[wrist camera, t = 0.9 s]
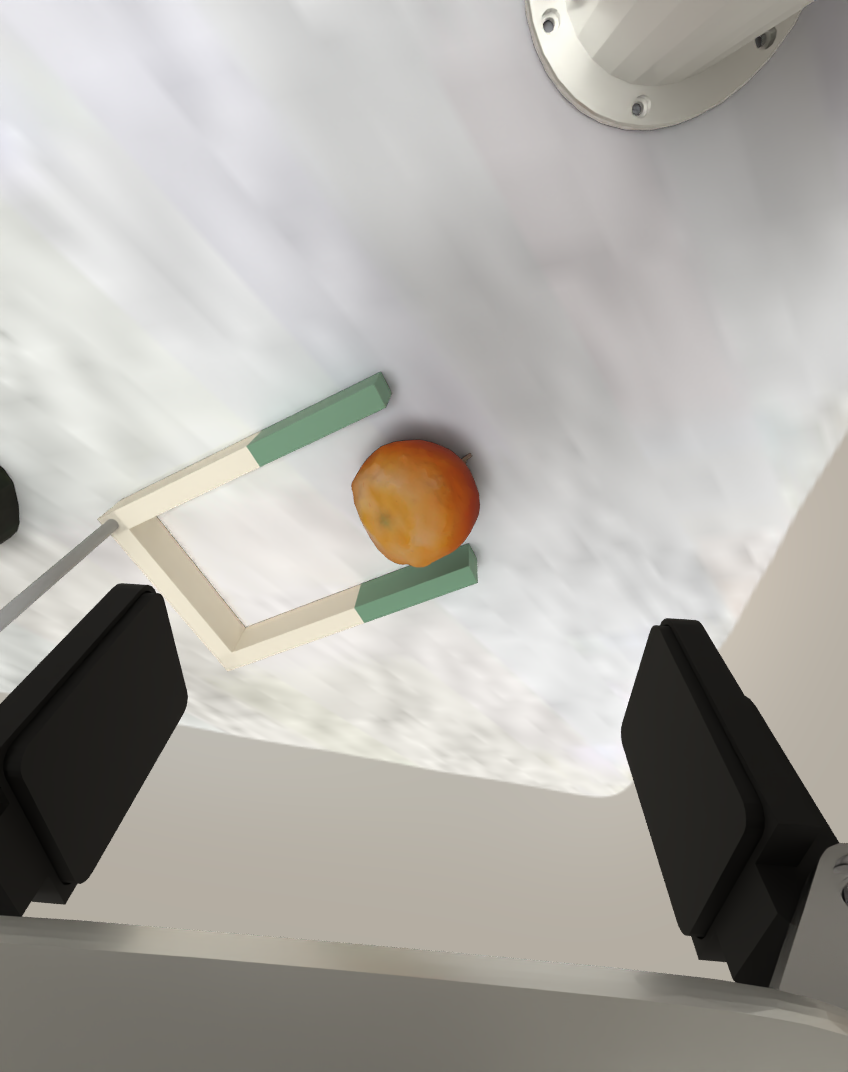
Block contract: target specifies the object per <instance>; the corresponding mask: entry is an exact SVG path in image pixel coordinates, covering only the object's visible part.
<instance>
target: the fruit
mask: <svg viewBox="0 0 848 1072" xmlns="http://www.w3.org/2000/svg"><path fill="white" fill-rule="evenodd" d="M471 456H472V455H471V453H469V454H468V455H466V456H465V457H463V458H462V459H460V458H459V457H458V456H457V455H456V454H455V453H454V452H453V451H451V450H449V449H447V448H445V447H443V446H440V445H438V444H436V443H432V442H428V441H423V440H406V441H397V442H393V443H389V444H386V445H384V446H381V447H380V448H379V449H377V450H376V451H375V452H374V453H372V454H371V455H370V456H369V457H368V459H367V460H366V461H365V462H364V463H363V465H362V467H361V468H360V470H359V471H358V473H357V475H356V477H355V478H354V480H353V482H352V486H351V487H352V491H353V496H354V504H355V506H356V509H357V511H358V514H359V517H360V519H361V522H362V524H363V526H364V528H365V529H366V531H367V533H368V535H369V537H370V538H371V540H372V541H373V543H374V544H375V546H376V547H377V549H378V550H379V551H380V552H381V553H382V554H383V555H384V556H385V557H386V558H388V559H389V560H391V561H393V562H394V563H397V564H402V565H403V564H409V565H411V566H413V567H425V566H428V565H430V564H431V563H432V562H435V561H437V560H439V559H440V558H442V557H444V556H446V555H448V554H450V553H452V552H454V551H455V550H456V549H457V548H458V547H459V546H460V545H461V544H462V543H463V542H464V541H465V540H466V538H467V537H468V535H469V534H470V532H471V530H472V528H473V526H474V524H475V522H476V520H477V517H478V515H479V509H480V502H479V493H478V490H477V487H476V484H475V481H474V478H473V476H472V474H471V472H470V470H469V468H468V467H467V465H466V461H467V460H468V459H469V458H470V457H471Z"/></svg>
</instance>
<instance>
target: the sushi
mask: <svg viewBox="0 0 848 1072" xmlns="http://www.w3.org/2000/svg"><path fill="white" fill-rule="evenodd" d="M18 525H19V511H18V502H17V498H16V494H15V491H14V487H13V483H12V481H11V480H10V479H9V477H8V476H7V474H6V473H5V471H4V470H3V469H2V468H1V467H0V544H2V543H3V542H4V541H6V540H7V539H9V538H10V537H11V536H12V535H13V534H14V533H15V532H16V531H17V529H18Z"/></svg>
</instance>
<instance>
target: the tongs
mask: <svg viewBox="0 0 848 1072" xmlns="http://www.w3.org/2000/svg"><path fill="white" fill-rule="evenodd" d="M391 395H392V393H391V391H390V389H389V387H388V385H387V383H386V381H385V379H384V377H383V375H382V373H381V372H379V373H377V374H375V375H373V376H371V377H369V378H367V379H365V380H363V381H361V382H359V383H357V384H355V385H353V386H351V387H349V388H347V389H345V390H343V391H341V392H339V393H337V394H334V395H332V396H330V397H328V398H326V399H324V400H322V401H320V402H318V403H316V404H314V405H312V406H310V407H308V408H306V409H304V410H302V411H300V412H298V413H296V414H294V415H292V416H290V417H288V418H286V419H284V420H282V421H280V422H278V423H276V424H274V425H272V426H270V427H268V428H266V429H264V430H262V431H260V432H258V433H255V434H253V435H251V436H249V437H247V438H245V439H243V440H241V441H239V442H237V443H235V444H233V445H231V446H229V447H227V448H225V449H223V450H221V451H219V452H217V453H215V454H213V455H211V456H209V457H207V458H205V459H203V460H201V461H199V462H197V463H195V464H193V465H191V466H189V467H187V468H185V469H183V470H181V471H179V472H176V473H174V474H172V475H170V476H168V477H166V478H164V479H162V480H160V481H158V482H156V483H154V484H152V485H150V486H148V487H146V488H144V489H142V490H140V491H138V492H136V493H134V494H132V495H130V496H128V497H126V498H124V499H122V500H120V501H119V502H118V503H117V504H115V505H114V506H113V507H112V508H110V509H109V510H108V511H107V512H106V513H104V514H103V515H102V516H101V517H99V518H98V519H97V520H98V521H99V522H100V523H101V524H102V525H101V526H100V527H99V528H98V529H97V530H96V531H94V532H93V533H92V534H91V535H90V536H88V537H87V538H86V539H85V540H84V541H82V542H81V543H80V544H79V545H78V546H76V547H75V548H74V549H73V550H72V551H70V552H69V553H68V554H67V555H66V556H64V557H63V558H62V559H61V560H60V561H58V562H57V563H56V564H55V565H54V566H52V567H51V568H50V569H49V570H48V571H46V572H45V573H44V574H43V575H42V576H40V577H39V578H38V579H37V580H36V581H34V582H33V583H32V584H31V585H30V586H28V587H27V588H26V589H25V590H24V591H22V592H21V593H20V594H19V595H18V596H17V597H15V598H14V599H13V600H12V601H11V602H9V603H8V604H7V605H6V606H5V607H3V608H2V609H1V610H0V632H1V631H2V630H3V629H4V628H5V627H6V626H8V625H9V624H10V623H11V622H12V621H13V620H14V619H16V618H17V617H18V616H19V615H20V614H21V613H22V612H23V611H25V610H26V609H27V608H28V607H29V606H30V605H31V604H33V603H34V602H35V601H36V600H37V599H38V598H39V597H40V596H42V595H43V594H44V593H45V592H46V591H47V590H48V589H50V588H51V587H52V586H53V585H54V584H55V583H56V582H57V581H59V580H60V579H61V578H62V577H63V576H64V575H65V574H67V573H68V572H69V571H70V570H71V569H72V568H73V567H74V566H76V565H77V564H78V563H79V562H80V561H81V560H82V559H84V558H85V557H86V556H87V555H88V554H89V553H90V552H91V551H93V550H94V549H95V548H96V547H97V546H98V545H99V544H101V543H102V542H103V541H104V540H105V539H106V538H107V537H108V536H110V535H111V536H112V537H113V538H114V539H115V541H116V542H117V543H118V544H119V545H120V546H121V548H122V549H123V550H124V551H125V552H126V553H127V555H128V556H129V557H130V558H131V559H132V560H133V562H134V563H135V564H136V565H137V566H138V567H139V569H140V570H141V571H142V572H143V573H144V574H145V576H146V577H147V578H148V579H149V580H150V581H151V583H152V584H153V585H154V586H155V587H156V588H157V590H158V591H159V592H160V593H161V594H162V595H163V597H164V598H165V599H166V600H167V601H168V602H169V604H170V605H171V606H172V607H173V608H174V609H175V611H176V612H177V613H178V614H179V615H180V616H181V618H182V619H183V620H184V621H185V622H186V623H187V625H188V626H189V627H190V628H191V629H192V630H193V632H194V633H195V634H196V635H197V636H198V637H199V639H200V640H201V641H202V642H203V643H204V644H205V645H206V647H207V648H208V649H209V650H210V651H211V652H212V654H213V655H214V656H215V657H216V658H217V659H218V661H219V662H220V663H221V664H222V665H223V666H224V668H225V669H226V670H227V671H230V670H233V669H236V668H239V667H242V666H245V665H247V664H250V663H253V662H256V661H259V660H261V659H264V658H267V657H270V656H273V655H276V654H278V653H281V652H284V651H287V650H290V649H293V648H295V647H298V646H301V645H304V644H307V643H309V642H312V641H315V640H318V639H321V638H324V637H326V636H329V635H332V634H335V633H338V632H340V631H343V630H346V629H349V628H352V627H355V626H357V625H360V624H363V623H366V622H369V621H371V620H374V619H377V618H380V617H383V616H386V615H388V614H391V613H394V612H397V611H400V610H402V609H405V608H408V607H411V606H414V605H417V604H419V603H422V602H425V601H428V600H431V599H433V598H436V597H439V596H442V595H445V594H448V593H450V592H453V591H456V590H459V589H462V588H465V587H467V586H470V585H473V584H476V583H478V577H477V559H476V557H475V555H474V553H473V551H472V549H471V547H470V545H469V543H468V544H466V545H463V546H460V547H458V548H457V549H456V550H455V551H454V552H452V553H450V554H448V555H446V556H444V557H442V558H440V559H439V560H437V561H435V562H432V563H431V564H430V565H428V566H425V567H413V566H411V565H410V566H408V567H405V568H402V569H400V570H397V571H394V572H392V573H389V574H386V575H384V576H381V577H378V578H376V579H373V580H370V581H368V582H365V583H363V584H360V585H357V586H355V587H352V588H349V589H347V590H344V591H341V592H339V593H336V594H333V595H331V596H328V597H325V598H323V599H320V600H317V601H315V602H312V603H310V604H307V605H304V606H302V607H299V608H296V609H294V610H291V611H288V612H286V613H283V614H280V615H278V616H275V617H272V618H270V619H267V620H265V621H262V622H259V623H257V624H254V625H251V626H249V627H246V628H245V627H244V625H243V624H242V623H241V622H240V620H239V619H238V618H237V617H236V615H235V614H234V613H233V612H232V610H231V609H230V608H229V607H228V605H227V604H226V603H225V602H224V600H223V599H222V598H221V597H220V595H219V594H218V593H217V592H216V590H215V589H214V588H213V587H212V585H211V584H210V583H209V582H208V580H207V579H206V578H205V577H204V575H203V574H202V573H201V572H200V570H199V569H198V568H197V567H196V565H195V564H194V563H193V562H192V560H191V559H190V558H189V557H188V555H187V554H186V553H185V552H184V550H183V549H182V548H181V547H180V545H179V544H178V543H177V542H176V540H175V539H174V538H173V537H172V535H171V534H170V533H169V532H168V530H167V529H166V528H165V527H164V525H163V524H162V523H161V522H160V520H159V519H158V518H157V517H156V516H157V515H159V514H162V513H164V512H166V511H168V510H170V509H172V508H174V507H176V506H179V505H181V504H183V503H185V502H187V501H189V500H191V499H193V498H195V497H198V496H200V495H202V494H204V493H206V492H208V491H210V490H212V489H215V488H217V487H219V486H221V485H223V484H225V483H227V482H229V481H232V480H234V479H236V478H238V477H240V476H242V475H244V474H246V473H248V472H251V471H253V470H255V469H257V468H259V467H261V466H263V465H265V464H268V463H270V462H272V461H274V460H276V459H278V458H280V457H282V456H284V455H287V454H289V453H291V452H293V451H295V450H297V449H299V448H301V447H304V446H306V445H308V444H310V443H312V442H314V441H316V440H318V439H320V438H323V437H325V436H327V435H329V434H331V433H333V432H335V431H337V430H340V429H342V428H344V427H346V426H348V425H350V424H352V423H354V422H357V421H359V420H361V419H363V418H365V417H367V416H369V415H371V414H373V413H376V412H378V411H380V410H382V409H384V408H386V406H387V404H388V402H389V399H390V397H391Z"/></svg>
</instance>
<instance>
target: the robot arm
mask: <svg viewBox="0 0 848 1072" xmlns="http://www.w3.org/2000/svg"><path fill="white" fill-rule="evenodd" d="M524 1H525V11H526V17H527V21H528V25H529V28H530V32H531V36H532V40H533V44H534V47H535V49H536V51H537V53H538V56H539V58H540V60H541V62H542V65H543V67H544V69H545V71H546V73H547V75H548V76H549V77H550V79H551V80H552V82H553V83H554V84H555V86H556V87H557V89H558V90H559V91H560V93H561V94H562V95H563V96H564V97H565V98H566V99H567V100H568V101H569V102H570V103H571V104H573V105H574V106H575V107H576V108H577V109H578V110H579V111H580V112H582V113H584V114H585V115H587V116H589V117H591V118H593V119H595V120H596V121H598V122H600V123H602V124H605V125H609V126H613V127H617V128H621V129H624V130H654V129H659V128H663V127H668V126H673V125H677V124H679V123H681V122H684V121H687V120H689V119H692V118H694V117H696V116H698V115H700V114H702V113H704V112H706V111H708V110H709V109H711V108H713V107H715V106H717V105H719V104H720V103H722V102H723V101H725V100H726V99H727V98H728V97H730V96H731V95H732V94H733V93H735V92H736V91H737V90H739V89H740V88H741V87H742V86H744V85H745V84H746V83H747V82H748V81H749V80H750V79H751V78H752V77H753V76H754V75H755V74H756V73H757V72H758V71H759V70H760V69H761V68H762V67H763V66H764V65H765V64H766V62H767V61H768V60H769V59H770V58H771V57H772V56H773V54H774V53H775V52H776V50H777V49H778V47H779V46H780V45H781V43H782V42H783V40H784V39H785V38H786V36H787V35H788V33H789V32H790V31H791V29H792V28H793V26H794V25H795V23H796V21H797V19H798V17H799V15H800V13H801V12H802V10H803V8H804V7H806V6H807V5H809V4H811V3H812V2H814V1H815V0H524ZM547 20H550V21H552V23H553V28H554V29H553V30H552V32H550V33H547V32H545V31H544V29H543V23H544V22H545V21H547ZM758 36H761V38H762V44H761V46H760V47H759V48H757V46H756V43H755V38H757V37H758ZM636 103H637V104H640V106H641V112H640V114H639V115H638V116H635V115H634V114H633V113H632V107H633V105H634V104H636ZM187 700H188V695H187V689H186V685H185V681H184V677H183V673H182V669H181V665H180V661H179V657H178V654H177V650H176V646H175V642H174V638H173V634H172V630H171V626H170V622H169V618H168V614H167V610H166V606H165V602H164V598H163V596H162V595H161V594H159V593H156V592H155V589H154V588H153V587H152V586H150V585H139V584H124V583H121V584H117V585H116V586H114V587H113V588H112V589H111V590H110V591H109V592H108V593H107V594H106V595H105V596H104V597H103V598H102V600H101V601H100V602H99V603H98V604H97V605H96V606H95V607H94V608H93V609H92V610H91V611H90V612H89V613H88V614H87V615H86V616H85V617H84V618H83V619H82V620H81V621H80V622H79V623H78V624H77V625H76V626H75V627H74V628H73V629H72V630H71V632H70V633H69V634H68V635H67V636H66V637H65V638H64V639H63V640H62V641H61V642H60V643H59V644H58V645H57V646H56V647H55V648H54V649H53V650H52V651H51V652H50V653H49V654H48V655H47V656H46V657H45V658H44V659H43V660H42V661H41V662H40V663H39V665H38V666H37V667H36V668H35V669H34V670H33V671H32V672H31V673H30V674H29V675H28V676H27V677H26V678H25V679H24V680H23V681H22V682H21V683H20V684H19V685H18V686H17V687H16V688H15V689H14V690H13V691H12V692H11V693H10V694H9V695H8V697H7V698H6V699H5V700H4V701H3V702H2V703H1V704H0V1072H848V843H839V842H838V840H837V838H836V837H835V835H834V833H833V832H832V831H831V829H830V827H829V825H828V824H827V822H826V820H825V819H824V817H823V816H822V814H821V812H820V810H819V809H818V807H817V806H816V804H815V802H814V801H813V799H812V797H811V796H810V794H809V792H808V791H807V789H806V788H805V786H804V784H803V783H802V781H801V779H800V778H799V776H798V775H797V773H796V771H795V770H794V768H793V766H792V765H791V763H790V762H789V760H788V758H787V757H786V755H785V753H784V752H783V750H782V748H781V747H780V745H779V743H778V742H777V740H776V738H775V737H774V735H773V734H772V732H771V731H770V729H769V727H768V726H767V724H766V722H765V720H764V719H763V717H762V716H761V714H760V712H759V711H758V709H757V707H756V706H755V705H754V703H753V702H752V701H751V700H750V699H749V698H747V697H746V696H744V694H743V692H742V690H741V689H740V687H739V685H738V684H737V682H736V680H735V679H734V677H733V675H732V674H731V672H730V670H729V669H728V667H727V665H726V664H725V662H724V660H723V659H722V657H721V655H720V654H719V652H718V650H717V649H716V647H715V645H714V644H713V642H712V640H711V639H710V637H709V635H708V634H707V632H706V630H705V629H704V627H703V625H702V624H701V623H700V622H699V621H697V620H686V619H671V618H666V619H664V620H663V621H662V622H661V625H660V626H658V625H655V626H653V627H652V628H651V631H650V633H649V637H648V640H647V643H646V647H645V650H644V653H643V656H642V660H641V663H640V666H639V670H638V673H637V676H636V679H635V683H634V686H633V689H632V693H631V696H630V699H629V702H628V706H627V709H626V712H625V716H624V719H623V722H622V726H621V739H622V744H623V748H624V751H625V754H626V758H627V761H628V764H629V767H630V771H631V774H632V777H633V780H634V784H635V787H636V790H637V793H638V797H639V800H640V803H641V806H642V809H643V813H644V816H645V819H646V823H647V826H648V829H649V832H650V836H651V839H652V842H653V845H654V849H655V852H656V855H657V858H658V862H659V865H660V868H661V871H662V875H663V878H664V881H665V884H666V888H667V891H668V894H669V897H670V901H671V904H672V907H673V910H674V914H675V917H676V920H677V923H678V926H679V928H680V930H681V932H682V933H683V934H684V935H687V936H691V937H692V940H693V943H694V946H695V949H696V952H697V955H698V959H699V960H708V961H720V962H727V964H728V967H729V970H730V972H731V976H732V978H733V980H734V981H735V982H736V983H735V982H729V981H723V980H717V979H709V978H700V977H691V976H682V975H673V974H663V973H656V972H647V971H638V970H629V969H620V968H611V967H601V966H591V965H581V964H569V963H559V962H548V961H538V960H527V959H516V958H506V957H495V956H483V955H474V954H462V953H452V952H440V951H430V950H418V949H408V948H397V947H396V948H395V947H385V946H374V945H362V944H352V943H340V942H328V941H317V940H306V939H294V938H282V937H271V936H260V935H248V934H237V933H224V932H212V931H201V930H188V929H176V928H164V927H152V926H140V925H128V924H115V923H104V922H91V921H79V920H64V919H48V918H32V917H22V915H23V914H24V912H25V910H26V909H27V907H28V906H29V904H30V902H31V901H32V902H42V903H53V904H66V902H67V900H68V898H69V897H70V895H71V894H72V892H73V890H74V888H75V887H76V885H77V884H78V883H79V884H81V883H83V882H85V881H86V880H87V879H88V878H89V876H90V875H91V873H92V872H93V870H94V868H95V867H96V865H97V863H98V862H99V860H100V858H101V856H102V855H103V853H104V851H105V849H106V848H107V846H108V844H109V842H110V841H111V839H112V837H113V835H114V834H115V832H116V830H117V829H118V827H119V825H120V823H121V822H122V820H123V818H124V816H125V814H126V813H127V811H128V809H129V808H130V806H131V804H132V802H133V801H134V799H135V797H136V795H137V793H138V792H139V790H140V788H141V787H142V785H143V783H144V781H145V780H146V778H147V776H148V774H149V773H150V771H151V769H152V767H153V766H154V764H155V762H156V761H157V758H158V757H159V755H160V753H161V752H162V750H163V748H164V747H165V745H166V743H167V741H168V740H169V738H170V736H171V734H172V733H173V731H174V729H175V727H176V726H177V724H178V722H179V720H180V719H181V717H182V715H183V713H184V711H185V709H186V706H187Z"/></svg>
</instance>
